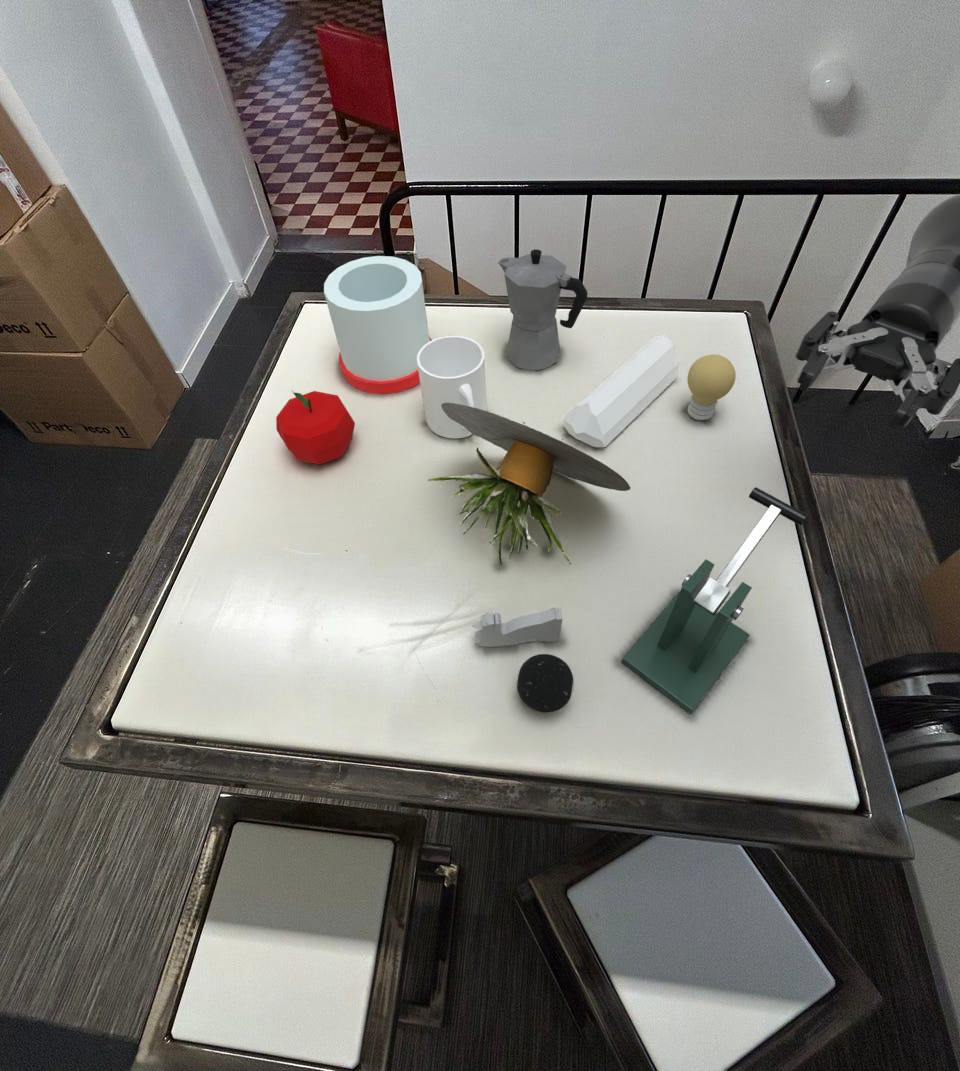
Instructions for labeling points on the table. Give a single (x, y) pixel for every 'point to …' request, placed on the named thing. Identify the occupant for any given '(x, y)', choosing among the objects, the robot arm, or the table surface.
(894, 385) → the robot arm
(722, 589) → the switch lever
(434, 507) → the table surface
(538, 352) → the coffeepot
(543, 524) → the upside-down potted plant
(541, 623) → the grey tape dispenser
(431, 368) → the mug
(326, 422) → the apple
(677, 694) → the switch bracket
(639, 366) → the crystal
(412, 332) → the container
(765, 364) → the table surface
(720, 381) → the light bulb
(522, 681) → the billiard ball
